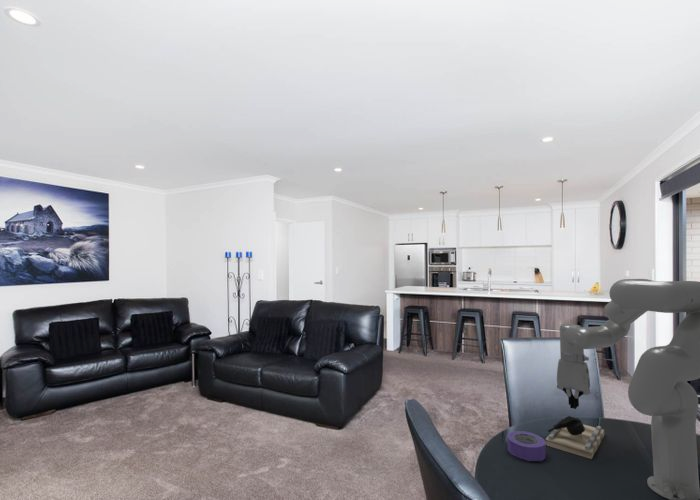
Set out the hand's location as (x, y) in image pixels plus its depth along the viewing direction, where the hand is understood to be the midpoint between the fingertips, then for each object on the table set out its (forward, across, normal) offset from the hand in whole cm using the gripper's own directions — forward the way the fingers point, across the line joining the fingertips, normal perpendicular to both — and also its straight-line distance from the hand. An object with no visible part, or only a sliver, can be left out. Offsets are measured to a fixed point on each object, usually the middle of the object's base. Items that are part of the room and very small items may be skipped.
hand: (573, 407), depth 134 cm
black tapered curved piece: (+9, +2, +5) cm, 11 cm away
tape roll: (+12, +10, +22) cm, 27 cm away
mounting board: (+12, 0, 0) cm, 12 cm away
